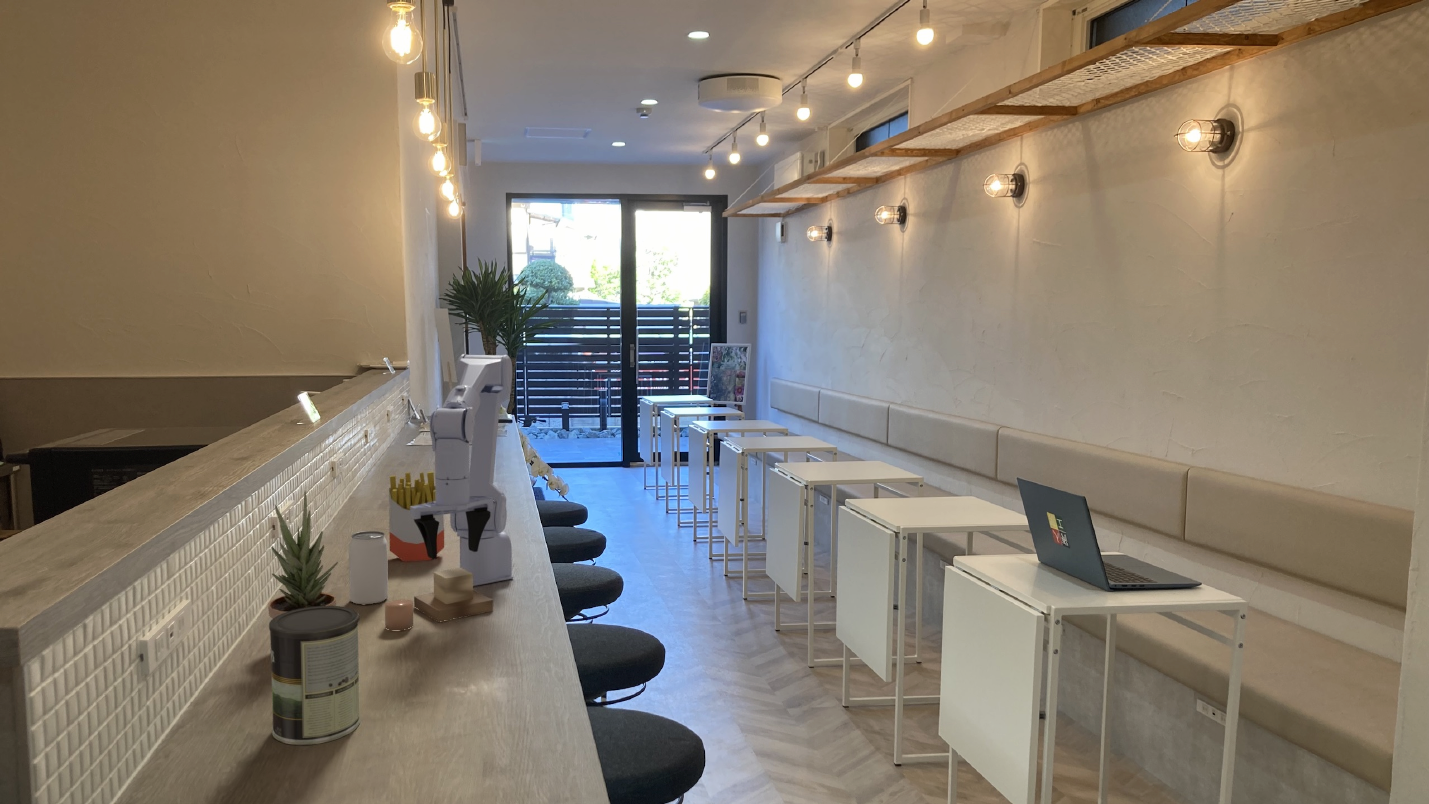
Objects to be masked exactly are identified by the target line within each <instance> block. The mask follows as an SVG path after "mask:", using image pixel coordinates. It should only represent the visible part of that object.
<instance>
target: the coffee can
mask: <svg viewBox="0 0 1429 804" xmlns="http://www.w3.org/2000/svg"><path fill="white" fill-rule="evenodd" d="M359 621H360V614H359V612H358V611H357V610H355V609H353V608H350V607H346V606H340V605H339V606H338V605H336V606H315V607H306V608H301V609H296V610H292V611H288V612H285V613H283V614H280V615H278V616H276V617H275V618H273V619H272V618H271V620H270V621H269V624H268V629H269V633H270V637H269V639H270V667H271V669H270V670H271V672H270V673H271V699H272V701H271V702H272V707H271V709H272V712H271V713H272V730H271V731H272V733H271V734H272V736H273V738H274V739H275V740H276V741H278V742H280V743H283V744H286V745H290V746H291V745H292V746H313V745H320V744H324V743H329V742H332V741H335V740H339V739H341V738H344V737H345V736H347V735H349V734H351V733H352V732H354V731H355V730H356V729H357V728H358V727H359V726H360V724H361V723H360V722H361V717H360V683H359V682H360V680H359V679H360V677H359V676H360V673H359V672H360V671H359V670H360V669H359V666H360V665H359Z"/></svg>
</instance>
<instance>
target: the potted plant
mask: <svg viewBox="0 0 1429 804" xmlns="http://www.w3.org/2000/svg"><path fill="white" fill-rule="evenodd" d="M303 492H304V493H303V509H302V510H303V511H302V525H301V530H300V527H299V526H300V525H297V532H296V533H297V534H296V535H297V538H296V539H297V542H296V540H295V539H294V536H293V535H292V533H291V530H290V529H289V527H288V524H287V523H286V521H285V519H284V517H283V515H282V514H281V512H280V510H279V507H278V505H277V504H274V506H275V509H274V510H275V513H276V516H277V519H278V521H279V528H280V531H281V532H280V533H281V535H282V539H283V542H284V544H285V546H284V545H283V543H282V541H279V545H280V549H281V551H282V553H283V555H284V556H283V555H282V554H280V552H278V551H277V550H276V549H275V548H274V547H273V546H271V551H272V552H273V554H274V555H275V557H276V558H277V560H278V562H279V564H280V566H281V568H282V570H283V572H284V573H285V575H284V574H281V575H280V574H278V575H277V574H275V573H271V575H272V576H273V578H274V579H276V580H277V581H278V582H279V583H281V584H282V585H283V586H284V587H285V588H286V590H287V591H288V592H289V593H288V592H287V591H286V590H284V589H281V588H279V589H278V590H279V592H281V593H282V594H283V595H281V596H278V597H276V598H273V599H272V600H271V601H269V603H268V605H267V606H268V616H269V618H271V620H272V619H273V618H275V617H276V616H278V615H280V614H283V613H285V612H288V611H292V610H296V609H301V608H306V607H315V606H337V605H336V603H337V598H336V596H335V595H334V594H332V593H328V592H323V590H324V589H325V587H326V585H325V584H326V582H327V581H328V579H329V578H330V576H332V575H331V574H332V572H331V571H332V570H333V569H334V568H335V567H336V566H337V565H338V563H339V561H336V562H335V563H334V564H333V565H332V566H331V567H330V568H329V569H328V570H326V571H325V572H324V573H322V574H321V575H320V573H321V571H322V570H323V568H324V565H323V564H321V563H322V559H321V558H322V555H323V552H324V550H325V545H324V544H323V545H322V547H321V543H322V539H323V532H324V531H323V530H321V531H320V532H319V535H318V537H317V539H316V540H315V542H314V543H313V544H312V546H311V545H310V544H311V534H312V526H311V520H312V519H311V518H312V516H311V510H308V504H307V503H308V501H307V492H306V490H304V491H303ZM310 546H311V547H310ZM320 547H321V548H320ZM319 575H320V576H319Z"/></svg>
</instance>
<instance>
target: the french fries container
mask: <svg viewBox="0 0 1429 804" xmlns="http://www.w3.org/2000/svg"><path fill="white" fill-rule="evenodd" d="M434 471H435V470H434ZM434 471H427V472H426V477H427V483H426V482H425V481H426V480H425V475H424V471H422V472H419V478H417V479H414V484H413V485H414V486H412V482H411V480H412V478H411V472H405V473H404V474H405V477H399V482H398V483H397V477H396V475H390V476H389V483H390V487H388V488H389V489H388V507H389V508H388V514H389V516H388V517H389V519H388V520H389V521H388V523H389V525H388V527H389V529H388V535H389V538H388V539H389V551H390V552H391V553H392V554H394V555H395V556H396V557H397V558H398V559H400V560H401V561H402V562H417V561H418V562H419V561H430V560H431V561H432V560H433V559H432V558H429V557H428V555H427V550H426V546H425V543H424V540H423V537H422V535H421V532H420V530H419V528H418V527H417V525H416V523H415V522H414V519H413V518H411V517H410V506H416V505H421V504H425V503H430V502H434V501H435V472H434ZM397 485H398V486H397ZM433 518H435V520H436V521H438V522H439V527H438V533H437V555H438V554H439V553H440V552H441V551H443V549H444V548H445V522H444V520H445V519H444V518H445V514H444V515H436V516H433Z"/></svg>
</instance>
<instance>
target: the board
mask: <svg viewBox="0 0 1429 804" xmlns="http://www.w3.org/2000/svg"><path fill="white" fill-rule="evenodd" d="M414 607H416V608H418V609H419V610H420V611H419V610H418V611H419V612H421V611H422V612H424V613H425V614H424V613H423V614H424V615H426V616H427V615H428V616H427V617H429V616H430V617H429V618H431V617H432V618H433V619H432V618H431V619H432V620H434V619H435V620H434V621H436V620H437V621H439V622H438V623H441V622H440V621H443V622H445V621H444V620H448V621H451V620H450V619H453V618H457V619H460V618H459V617H462V618H465V616H467V617H472V616H476V615H481V614H485V612H486V613H490V612H494V599H492V598H490V597H488V596H486V595H484V594H483V593H481V592H478V591H477V590H474V589H473V599H470V600H465V601H460V602H455V603H450V604H445V603H443V602H441V601H440V600H438V599H436V598H435V597H434V592H431V593H425V594H421V595H420V594H419V595H415V596H413V608H414ZM416 608H415V609H416ZM422 612H421V613H422ZM480 613H481V614H480ZM471 615H472V616H471ZM453 620H454V619H453ZM437 621H436V622H437Z"/></svg>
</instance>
